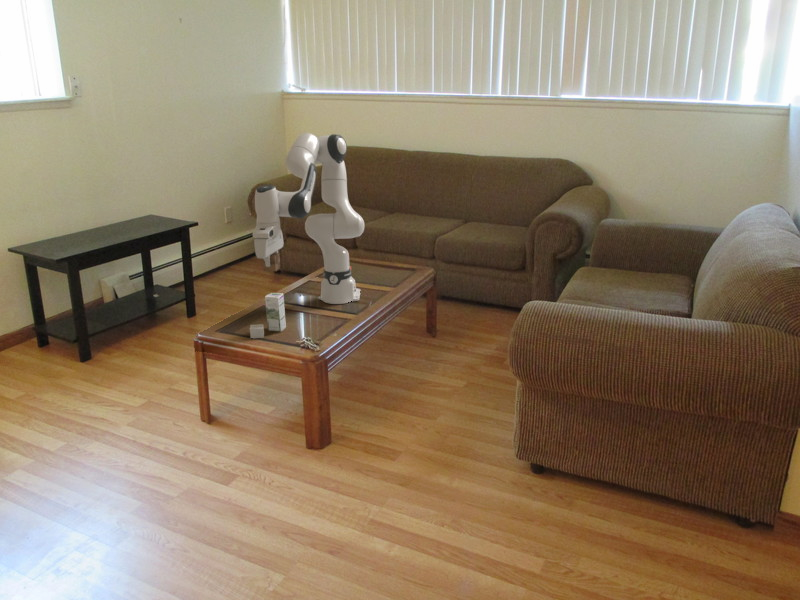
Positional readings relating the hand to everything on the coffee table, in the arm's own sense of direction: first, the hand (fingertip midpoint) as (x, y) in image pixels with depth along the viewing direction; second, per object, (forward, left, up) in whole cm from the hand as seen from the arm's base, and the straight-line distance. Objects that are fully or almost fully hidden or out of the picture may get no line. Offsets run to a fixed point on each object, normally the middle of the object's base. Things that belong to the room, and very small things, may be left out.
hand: (271, 264), depth 264 cm
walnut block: (0, 0, -2) cm, 2 cm away
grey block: (+8, -5, -27) cm, 29 cm away
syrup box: (0, 0, -27) cm, 27 cm away
